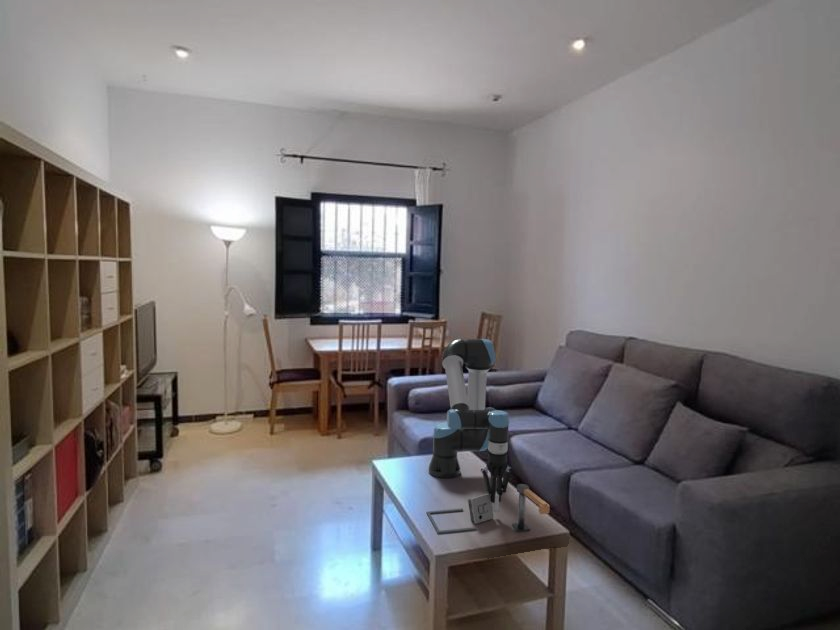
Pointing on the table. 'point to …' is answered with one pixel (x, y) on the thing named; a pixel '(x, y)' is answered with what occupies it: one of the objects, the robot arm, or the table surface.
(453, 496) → the table surface
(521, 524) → the mast
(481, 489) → the table surface
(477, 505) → the electrical switch
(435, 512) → the bay
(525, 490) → the lever
